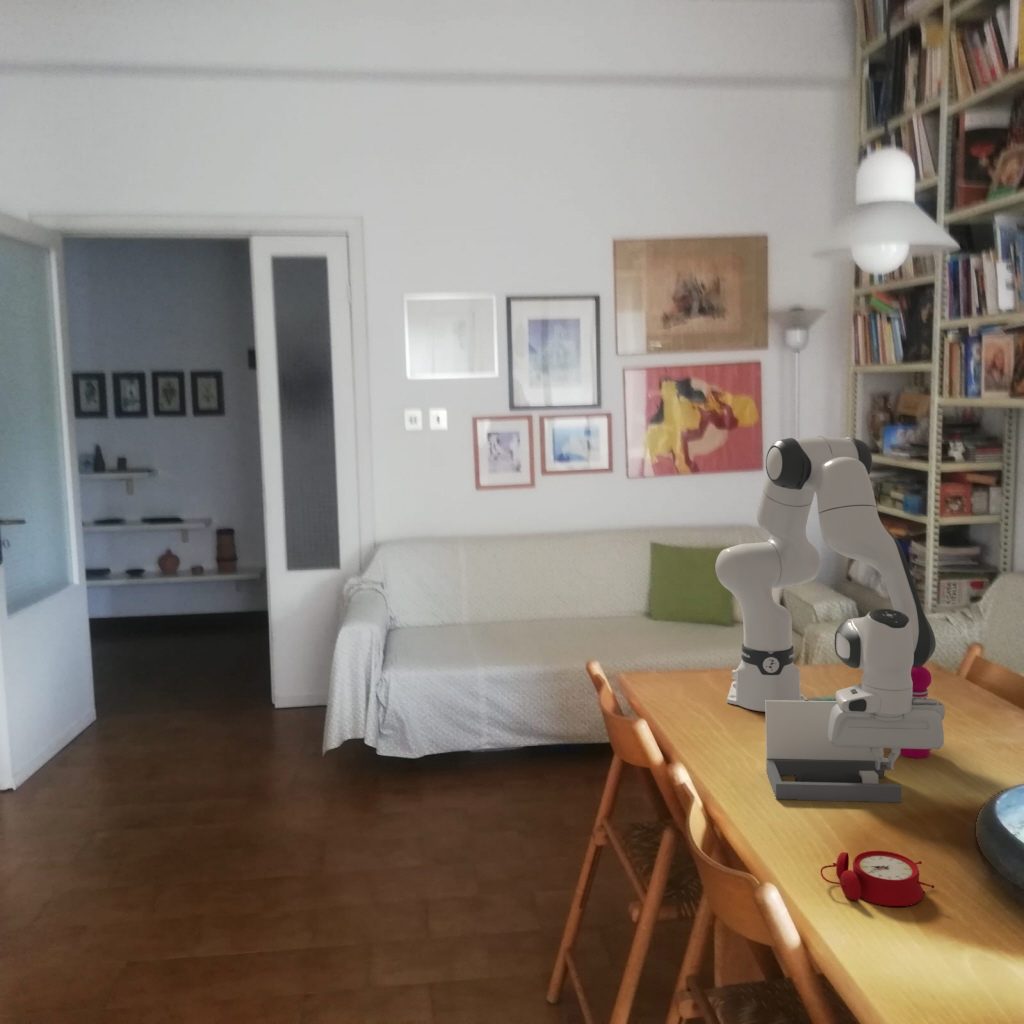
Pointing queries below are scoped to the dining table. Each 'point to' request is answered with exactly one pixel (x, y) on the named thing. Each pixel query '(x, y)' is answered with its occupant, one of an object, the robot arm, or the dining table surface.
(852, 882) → the alarm clock
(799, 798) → the grey flat frame
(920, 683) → the pepper mill
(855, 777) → the white-capped dark rod
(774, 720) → the cover
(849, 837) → the dining table surface
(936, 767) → the dining table surface
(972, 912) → the dining table surface
